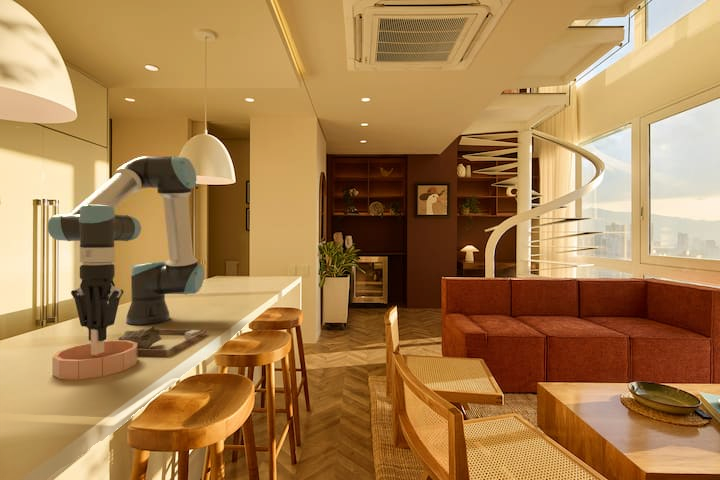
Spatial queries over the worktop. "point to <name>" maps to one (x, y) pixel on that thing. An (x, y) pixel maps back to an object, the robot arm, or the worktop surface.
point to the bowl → (94, 360)
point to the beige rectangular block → (191, 333)
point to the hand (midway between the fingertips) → (97, 352)
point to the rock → (142, 337)
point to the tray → (175, 348)
